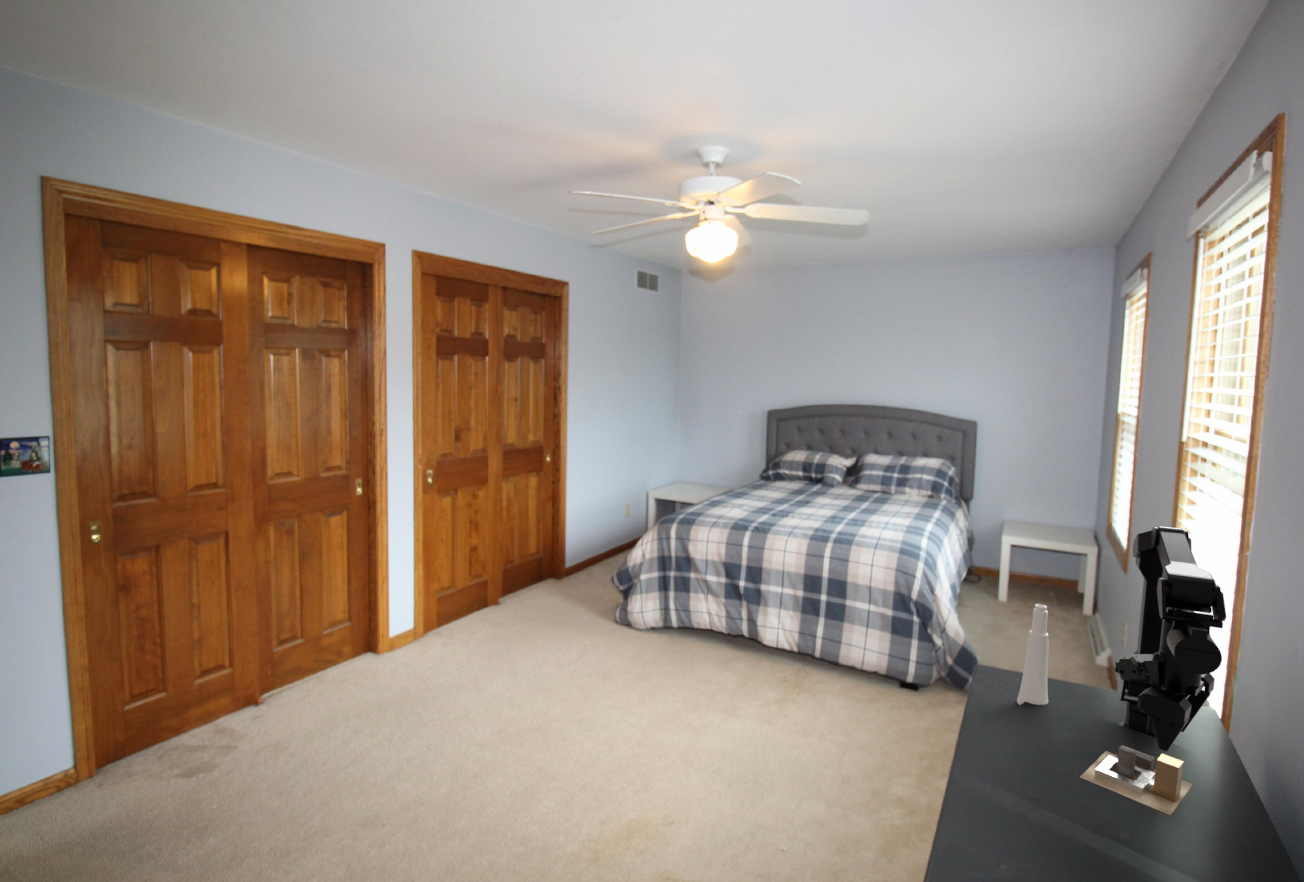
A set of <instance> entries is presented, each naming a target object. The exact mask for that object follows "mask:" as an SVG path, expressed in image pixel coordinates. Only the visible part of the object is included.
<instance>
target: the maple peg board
mask: <svg viewBox="0 0 1304 882" xmlns="http://www.w3.org/2000/svg"><path fill="white" fill-rule="evenodd" d="M1109 755H1110V756H1113V757H1115V758H1118V764H1117V769H1116V768H1115V769H1114V770H1113V771H1112V772H1114V773H1117V774H1119V775H1122V776H1124V777H1127V778H1129V779H1132V780H1134V781H1136V779H1137V778H1138V777H1136V776H1134V767H1135V765H1136V766H1139V767H1141V768H1144V769H1146V770H1149V771H1152V772H1154V773H1155V770H1156V769H1155V768H1154V767H1155V759H1156V757H1155V756H1153V755H1149V754H1147V753H1144V752H1142V751H1139V750H1137V749H1134V748H1131V747H1129V746H1126V745H1124V744H1121V745H1120V746H1119V747H1118V748H1117V754H1115V753H1112V752H1109V751H1107V750H1105V751H1104V752H1103V753H1102V754H1101V755H1100V756H1099V757H1098V758H1097V759H1096V760H1095V761H1094V762H1093V763H1092V764H1091V765H1090V766H1089V767H1088V768H1087V769H1086V770H1085V771H1084V772H1083V773H1082V774H1081V775H1080V776H1079V778H1080V779H1083V780H1084V781H1088V782H1090V783H1091V784H1095V785H1097V786H1099V787H1102V788H1105V789H1106V790H1109V791H1111V792H1114V793H1115V794H1118V795H1121V796H1123V797H1126V798H1127V799H1130V800H1133V801H1135V802H1137V803H1140V804H1142V805H1144V806H1147V807H1149V808H1152V809H1153V810H1156V811H1159V812H1162V813H1164V814H1166V815H1168V816H1172V815H1173V813H1174V811H1175V810H1176V808H1177V807H1178V806H1179V804H1180V803H1181V801H1183V799H1184V797H1185V796H1186V794H1187V793H1188V792H1189V790H1190V789H1191V788H1192V786H1193V784H1192V783H1190V782H1187V781H1184V780H1183V779H1182V782H1181V791H1180V796H1179V797H1178V799H1177V800H1176V802H1172V801H1170V800H1167V799H1165V798H1162V797H1160V796H1158V795H1155V794H1153V792H1151V791H1149V790H1146V791H1145V792H1144V794H1143V795H1140V794H1138V793H1135V792H1133V791H1130V790H1128V789H1126V788H1123V787H1121V786H1118V785H1116V784H1113V783H1111V782H1109V781H1106V780H1104V779H1101V778H1099V777H1096V776H1095V769H1096V768H1097V767H1098V766H1099V765H1100V764H1101V763H1102V762H1103V761H1104V760H1105V759H1106V758H1107V757H1108V756H1109Z"/></svg>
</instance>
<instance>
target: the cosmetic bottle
mask: <svg viewBox="0 0 1304 882" xmlns="http://www.w3.org/2000/svg"><path fill="white" fill-rule="evenodd" d="M1047 609H1048V606H1047V605H1045V604H1041V603H1036V604H1035V605H1034V608H1033V609H1032V620H1031V629H1030V630H1028V631H1029V632H1028V636H1027V642H1026V643H1027V644H1026V649H1025V658H1024V663H1023V664H1024V665H1023V673H1022V679H1021V684H1020V687H1019V692H1018V695H1017V698H1016V703H1017V704H1018V705H1019V706H1021V705H1023V704H1024V703H1029V704H1032V705H1037V706H1045V705H1047V704H1049V693H1048V673H1049V672H1048V671H1049V670H1048V667H1049V664H1048V663H1049V640H1050V639H1049V638H1050V636H1049V633H1048V632H1047V629H1048V617H1049V611H1048V610H1047Z"/></svg>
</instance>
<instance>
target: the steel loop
mask: <svg viewBox="0 0 1304 882" xmlns="http://www.w3.org/2000/svg"><path fill="white" fill-rule="evenodd" d="M1184 763H1185V762H1184V760H1181V759H1178V758H1175V757H1173V756H1170V755H1167V754H1165V753H1161V754H1160V756H1158V757H1157V758H1156V763H1155V764H1156V765H1155V769H1154V770H1155V773H1154V772H1152V771H1149V770H1146V769H1144V768H1141V767H1139V766H1136V765H1135V767H1134V776H1136V777H1138V778H1137V779H1136V781H1134V780H1132V779H1129V778H1127V777H1124V776H1122V775H1119V774H1117V773H1114V772H1112V771H1113V770H1114V769H1115V768H1116V769H1117V764H1118V758H1115V757H1113V756H1110V755H1109V756H1108V757H1107V758H1106V759H1105V760H1104V761H1103V762H1102V763H1101V764H1100V765H1099V766H1098V767H1097V768H1096V769H1095V776H1096V777H1099V778H1101V779H1104V780H1106V781H1109V782H1111V783H1113V784H1116V785H1118V786H1121V787H1123V788H1126V789H1128V790H1130V791H1133V792H1135V793H1138V794H1140V795H1143V794H1144V792H1145V791H1146V790H1149V791H1151V792H1153V794H1155V795H1158V796H1160V797H1162V798H1165V799H1167V800H1170V801H1172V802H1176V800H1177V799H1178V797H1179V796H1180V791H1181V782H1182V780H1183V772H1184Z"/></svg>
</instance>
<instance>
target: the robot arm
mask: <svg viewBox="0 0 1304 882" xmlns="http://www.w3.org/2000/svg"><path fill="white" fill-rule="evenodd" d="M1132 557H1133V558H1135V565H1136V567H1137V569H1138V570H1139V572H1140V574H1141V576H1142V577H1143V581H1142V582H1143V584H1142V592H1141V593H1142V594H1141V607H1140V616H1139V627H1138V636H1137V646H1136V651H1134V653H1131V654H1130V653H1129V654H1122V655H1121V656H1119V657H1118V658H1117V659H1115V661H1114V662H1115V668H1114V672H1115V673H1117V674H1119V677H1118V680H1117V695H1118V698H1119V700H1120V702H1125V706H1124V707H1125V708H1124V709H1125V710H1124V716H1123V717H1124V718H1123V720H1121V721H1120V723H1119V724H1118V726H1121V727H1125V728H1127V729H1130V730H1132V731H1136V732H1138V733H1142V734H1145V735H1147V736H1149V737H1152V738H1156V741H1157V746H1158V749H1159V750H1162V751H1165V752H1168V751H1169V750H1170V748H1171V747H1172V745H1173V744H1174V742H1175V741H1176V739H1177V738H1178V736H1179V735H1180V733H1184V732H1185V731H1186V729H1187V728H1188V726H1189V725H1190V723H1191V722H1192V721H1193V720H1194V718H1195V717H1196V715H1197V714H1198V712H1199V711H1200V710H1201V709H1202V707H1203V705H1204V704H1205V703H1206V701H1207V700H1208V699H1209V697H1210V696H1211V693H1212V691H1213V690H1215V689H1214V687H1215V678H1214V676H1213V675H1212V674H1211V673H1213V672H1215V671H1216V670H1217V669H1219V667H1220V666H1221V665H1222V659H1223V656H1222V653H1221V651H1220V649H1219V647H1218V646H1217V644H1216V642H1215V641H1214V640H1213V638H1212V637H1211V634H1210V633H1211V632H1210V630H1211V627H1212V628H1219V629H1223V627H1224V622H1225V621H1226V619H1227V612H1226V606H1225V599H1224V598H1225V597H1224V593H1223V592H1222V591H1221V586H1220V585H1218V584H1216V581H1215V579H1214V577H1213V576H1212V574H1211V572H1209V571H1207V570H1205V569H1203V568H1202V567H1198V565H1197V563H1196V560H1195V557H1194V553H1193V551H1192V538H1190V537H1189V531H1188V530H1186V529H1183V528H1179V527H1170V526H1169V527H1168V526H1163V525H1161V526H1160V525H1158V526H1156V527H1155V526H1154V527H1152V529H1150V530H1147V531H1144V532H1140V533H1138V534H1136V536H1135V538H1134V539H1133V544H1132ZM1211 613H1212V614H1211ZM1203 688H1204V689H1203Z"/></svg>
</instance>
